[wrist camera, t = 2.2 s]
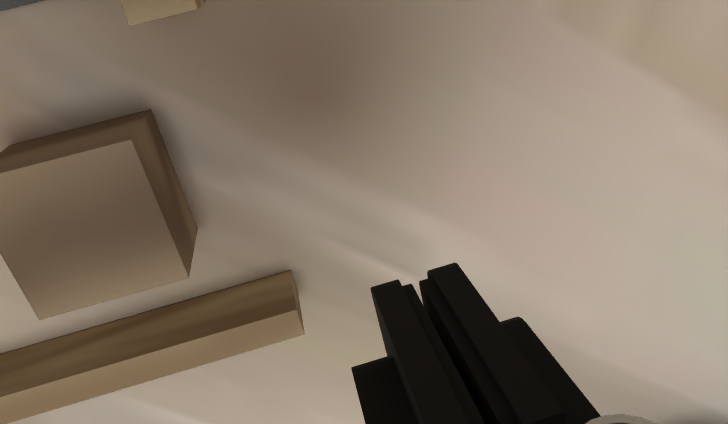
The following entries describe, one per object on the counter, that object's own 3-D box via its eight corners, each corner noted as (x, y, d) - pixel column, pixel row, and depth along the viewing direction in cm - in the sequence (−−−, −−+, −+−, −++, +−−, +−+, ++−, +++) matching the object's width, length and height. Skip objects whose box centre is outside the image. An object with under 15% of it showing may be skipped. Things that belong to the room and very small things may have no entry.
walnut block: (11, 143, 20) (-41, 184, 16) (151, 108, 20) (130, 139, 17) (72, 261, 22) (39, 319, 18) (197, 227, 22) (188, 277, 19)
